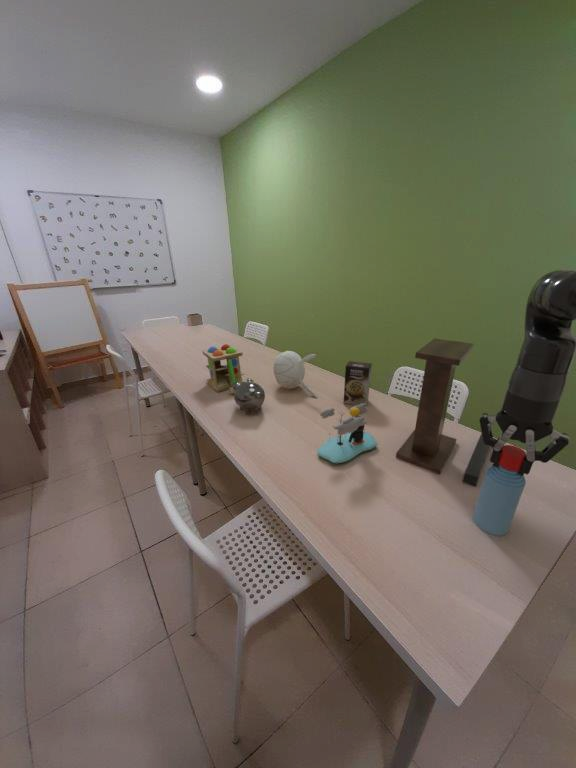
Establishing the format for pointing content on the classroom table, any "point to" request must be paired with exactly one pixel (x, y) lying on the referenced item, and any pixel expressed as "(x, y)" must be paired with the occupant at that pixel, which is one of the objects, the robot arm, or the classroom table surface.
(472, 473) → the dark grey bar
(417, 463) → the stand
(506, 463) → the cap
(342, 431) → the penguin figurine
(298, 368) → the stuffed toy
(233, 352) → the pounding bench toy
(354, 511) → the classroom table surface
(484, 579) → the classroom table surface
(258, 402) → the piggy bank
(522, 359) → the robot arm
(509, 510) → the bottle
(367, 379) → the coffee box
